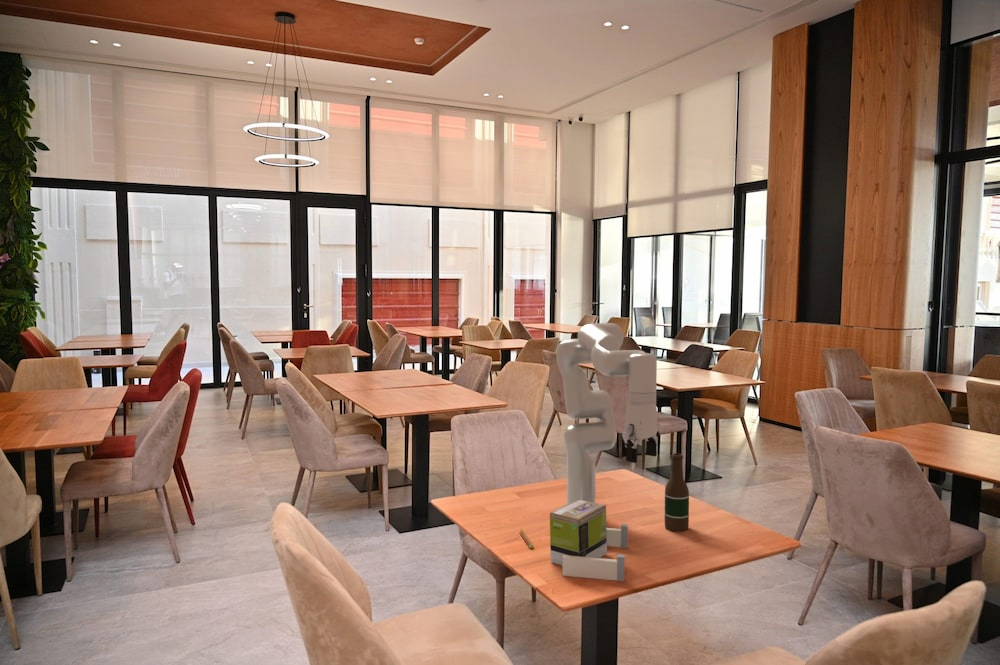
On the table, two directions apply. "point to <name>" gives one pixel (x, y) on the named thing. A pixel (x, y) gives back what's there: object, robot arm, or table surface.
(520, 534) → the chocolate bar
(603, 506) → the tea box
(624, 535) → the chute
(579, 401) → the robot arm
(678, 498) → the beer bottle
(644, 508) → the table surface
